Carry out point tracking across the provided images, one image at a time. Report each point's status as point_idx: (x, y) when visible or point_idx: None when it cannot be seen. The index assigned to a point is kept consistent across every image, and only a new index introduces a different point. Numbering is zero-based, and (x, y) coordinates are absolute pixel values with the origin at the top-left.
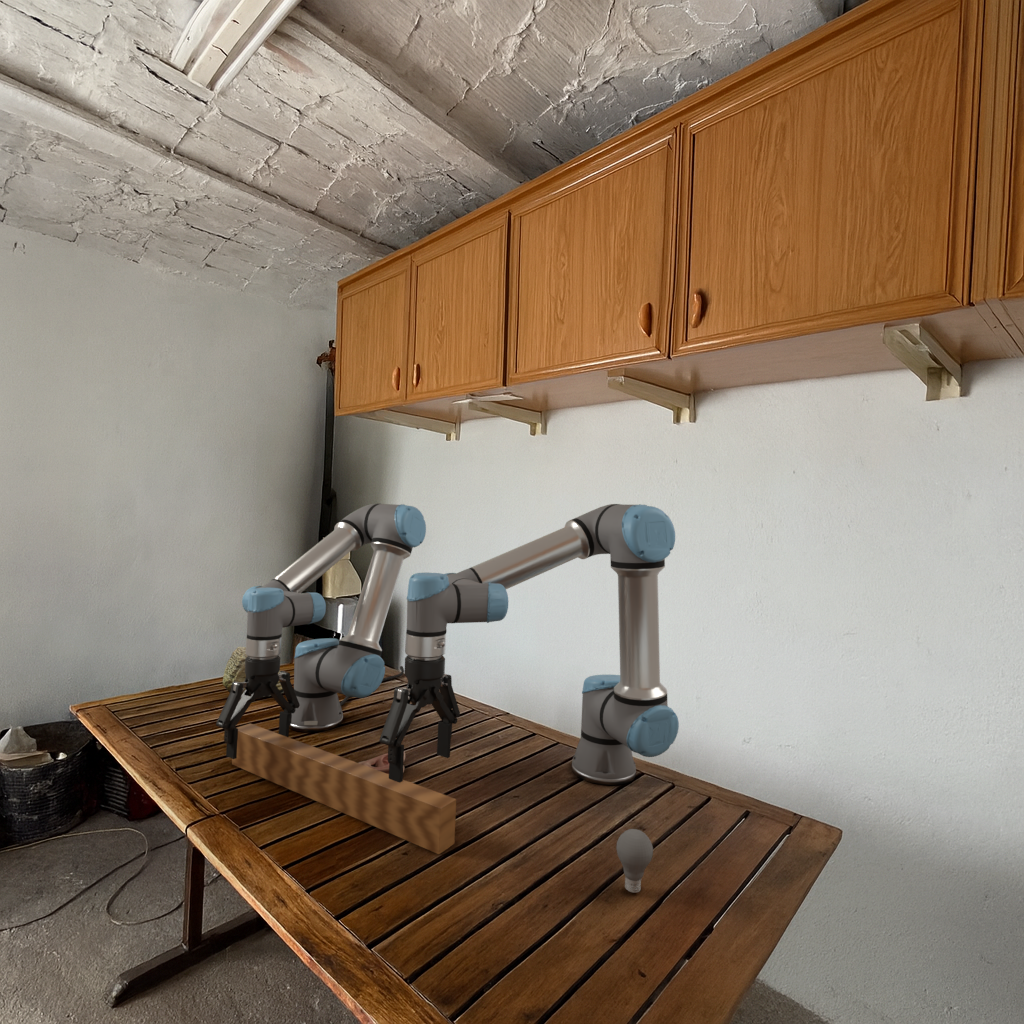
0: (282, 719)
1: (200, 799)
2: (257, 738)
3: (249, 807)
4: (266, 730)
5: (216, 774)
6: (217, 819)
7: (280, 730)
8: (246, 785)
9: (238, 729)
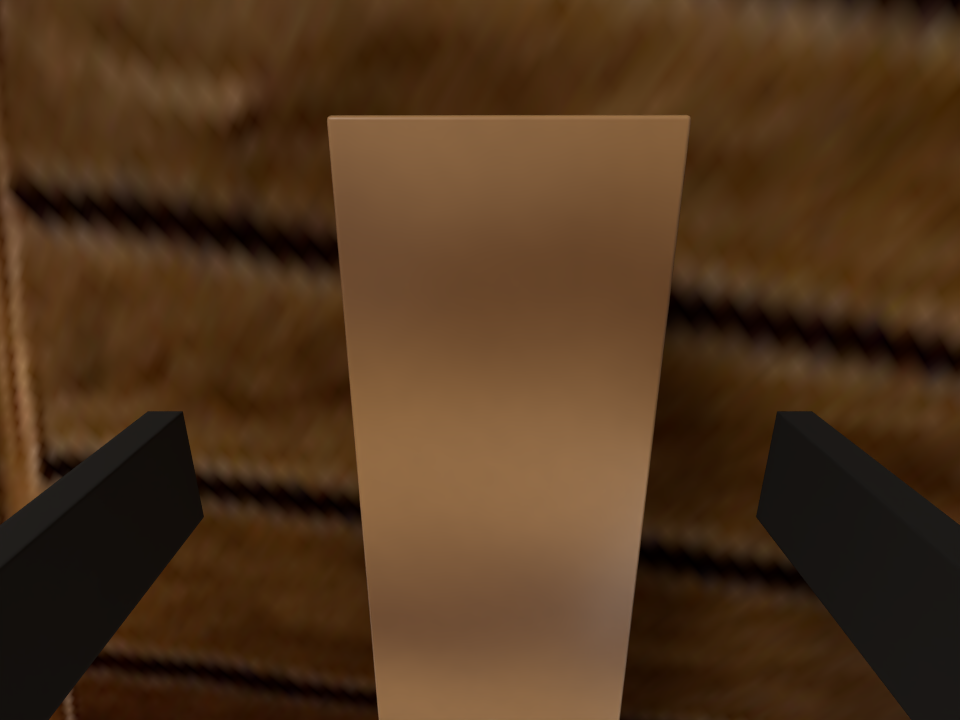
0: (940, 635)
1: (13, 465)
2: (375, 660)
3: (188, 701)
4: (610, 560)
5: (235, 215)
6: None
7: (829, 496)
8: (301, 512)
9: (373, 226)
